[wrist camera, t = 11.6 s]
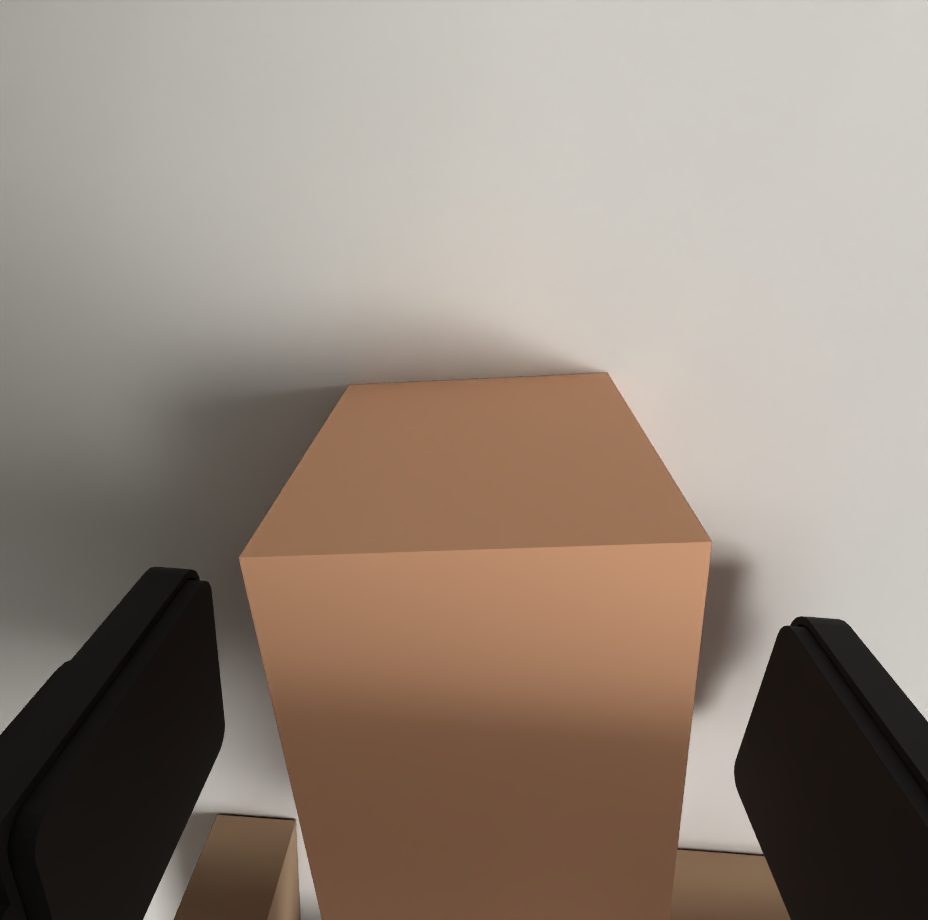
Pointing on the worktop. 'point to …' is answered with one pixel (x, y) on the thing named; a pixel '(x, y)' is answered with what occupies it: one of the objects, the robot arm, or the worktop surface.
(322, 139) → the worktop surface
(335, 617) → the terracotta stub
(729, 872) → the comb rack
